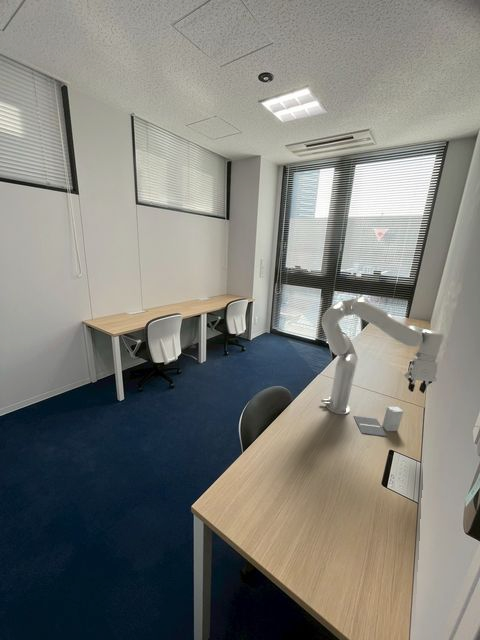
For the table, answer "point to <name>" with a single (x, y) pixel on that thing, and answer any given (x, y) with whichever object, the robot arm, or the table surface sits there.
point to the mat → (369, 426)
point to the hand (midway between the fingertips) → (416, 390)
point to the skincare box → (392, 418)
